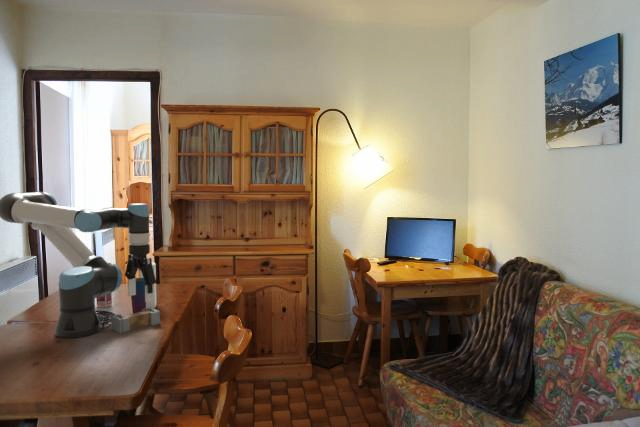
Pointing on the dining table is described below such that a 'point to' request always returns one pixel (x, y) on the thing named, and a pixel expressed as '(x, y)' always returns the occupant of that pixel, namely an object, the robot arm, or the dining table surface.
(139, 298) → the cup
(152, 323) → the endcap far
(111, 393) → the dining table surface
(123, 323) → the grey u-shaped bracket
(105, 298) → the pill bottle
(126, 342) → the dining table surface
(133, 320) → the slat
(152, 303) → the milk
